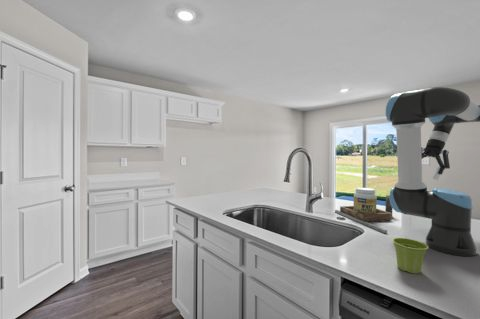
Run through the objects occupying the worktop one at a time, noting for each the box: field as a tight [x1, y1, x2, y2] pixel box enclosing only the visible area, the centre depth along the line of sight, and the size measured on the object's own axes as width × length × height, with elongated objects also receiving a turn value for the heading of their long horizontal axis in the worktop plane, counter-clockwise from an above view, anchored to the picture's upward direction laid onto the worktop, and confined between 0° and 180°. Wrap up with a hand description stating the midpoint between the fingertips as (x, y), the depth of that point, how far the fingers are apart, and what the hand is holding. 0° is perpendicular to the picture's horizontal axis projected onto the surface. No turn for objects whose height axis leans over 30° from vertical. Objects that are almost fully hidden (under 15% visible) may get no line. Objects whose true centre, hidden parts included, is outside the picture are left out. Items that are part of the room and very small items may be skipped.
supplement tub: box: [352, 187, 378, 214], centre depth 139 cm, size 12×12×17 cm
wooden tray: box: [339, 194, 393, 222], centre depth 140 cm, size 19×28×12 cm
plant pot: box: [392, 237, 430, 274], centre depth 76 cm, size 9×9×9 cm
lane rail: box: [334, 209, 388, 235], centre depth 130 cm, size 40×1×2 cm, turn 11°
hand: (421, 176), depth 128 cm, fingers open, 13 cm apart
